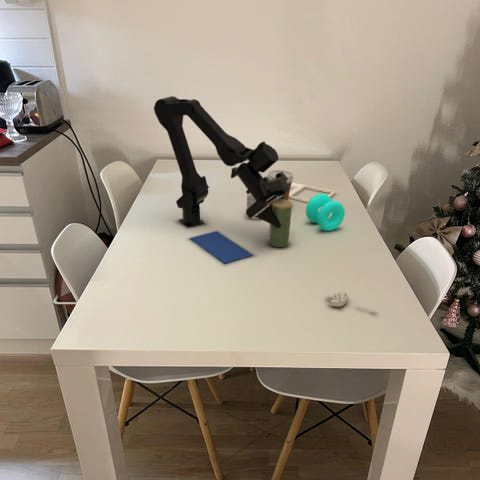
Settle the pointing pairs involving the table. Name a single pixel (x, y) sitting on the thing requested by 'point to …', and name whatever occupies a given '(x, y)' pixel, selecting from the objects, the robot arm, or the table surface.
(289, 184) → the disposable coffee cup
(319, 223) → the donuts
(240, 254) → the blue mat
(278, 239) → the tea tin
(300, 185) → the photo frame
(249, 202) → the medicine box
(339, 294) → the game controller
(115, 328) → the table surface
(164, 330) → the table surface
